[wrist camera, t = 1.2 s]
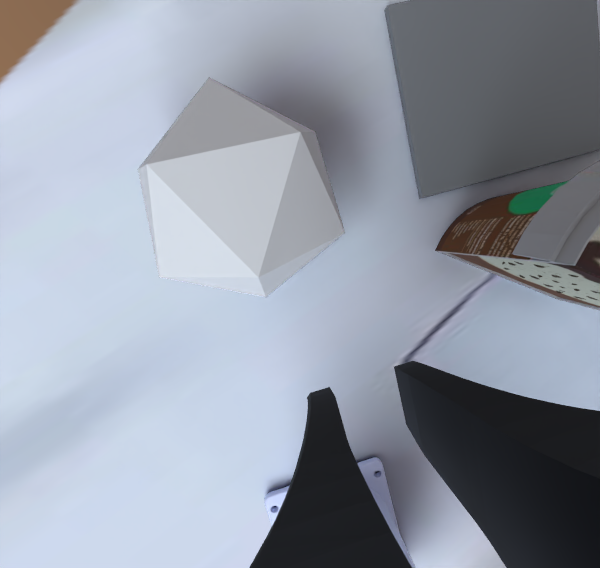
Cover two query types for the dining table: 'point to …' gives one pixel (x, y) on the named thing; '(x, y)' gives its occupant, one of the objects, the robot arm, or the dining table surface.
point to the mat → (495, 85)
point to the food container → (537, 238)
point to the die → (237, 195)
